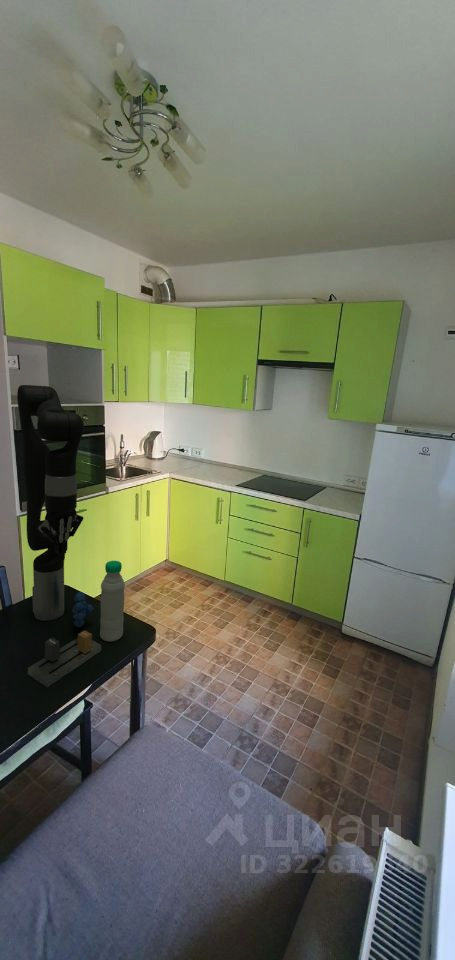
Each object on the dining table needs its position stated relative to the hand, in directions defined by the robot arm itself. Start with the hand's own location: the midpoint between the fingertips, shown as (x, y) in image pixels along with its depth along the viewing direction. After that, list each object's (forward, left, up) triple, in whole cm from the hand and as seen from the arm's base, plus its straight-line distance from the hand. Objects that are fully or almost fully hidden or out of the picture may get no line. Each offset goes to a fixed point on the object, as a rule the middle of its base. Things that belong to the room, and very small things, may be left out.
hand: (61, 553), depth 103 cm
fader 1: (0, -3, -30) cm, 30 cm away
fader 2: (+4, +5, -30) cm, 31 cm away
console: (+2, 0, -33) cm, 33 cm away
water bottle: (+3, +16, -33) cm, 37 cm away
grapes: (-8, +14, -33) cm, 37 cm away
